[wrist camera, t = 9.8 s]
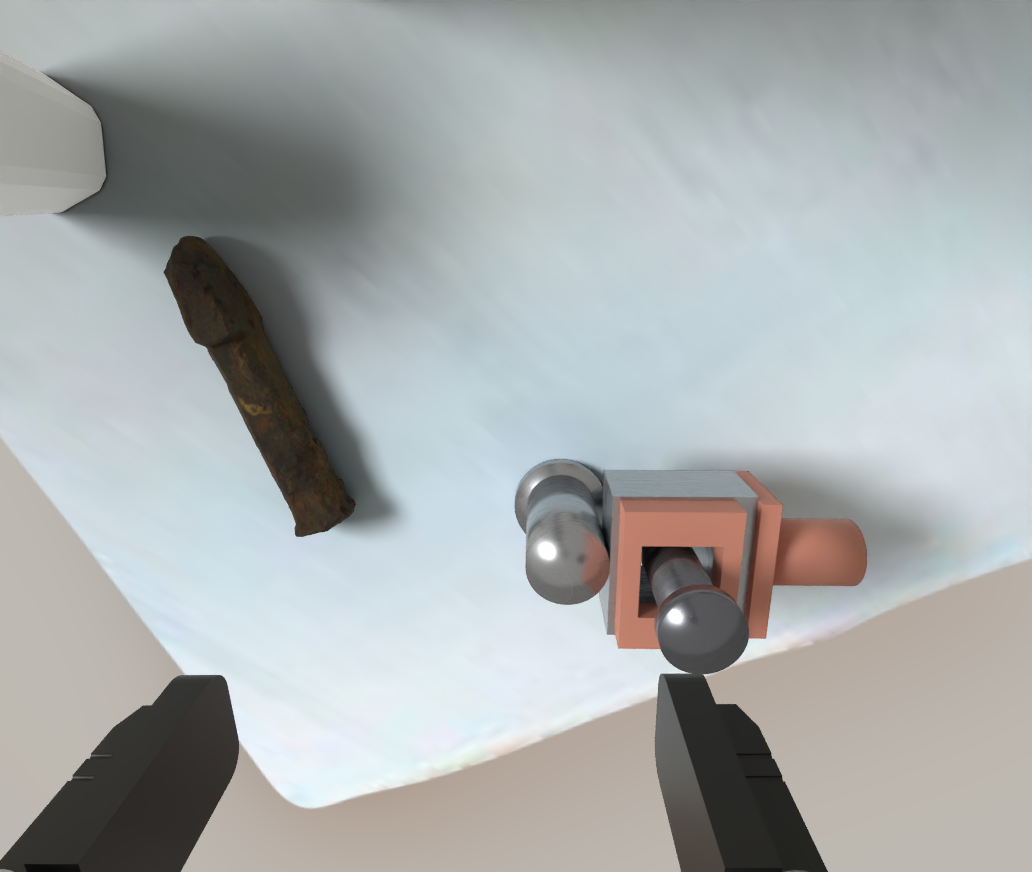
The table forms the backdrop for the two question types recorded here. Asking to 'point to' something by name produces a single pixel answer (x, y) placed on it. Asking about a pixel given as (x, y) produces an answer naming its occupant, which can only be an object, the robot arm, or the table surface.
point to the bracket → (732, 554)
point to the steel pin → (692, 612)
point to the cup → (45, 143)
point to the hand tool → (256, 384)
